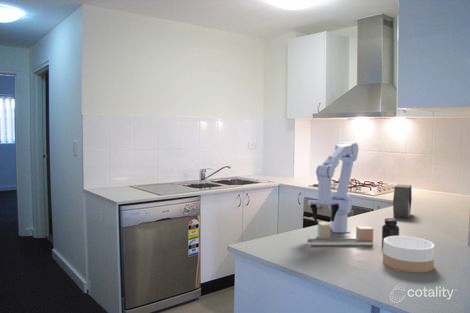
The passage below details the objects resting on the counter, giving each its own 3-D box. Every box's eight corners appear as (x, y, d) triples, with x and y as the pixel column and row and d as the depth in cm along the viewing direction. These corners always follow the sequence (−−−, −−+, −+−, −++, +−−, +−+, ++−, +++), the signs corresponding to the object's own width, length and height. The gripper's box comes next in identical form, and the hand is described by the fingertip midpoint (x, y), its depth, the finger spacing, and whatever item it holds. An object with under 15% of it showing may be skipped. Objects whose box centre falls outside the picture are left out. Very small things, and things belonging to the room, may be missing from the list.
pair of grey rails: (307, 240, 169) (308, 236, 168) (365, 240, 169) (366, 236, 169) (311, 246, 161) (311, 241, 160) (372, 246, 161) (372, 241, 161)
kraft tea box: (326, 236, 175) (326, 221, 175) (329, 240, 169) (330, 225, 169) (317, 236, 175) (317, 221, 175) (320, 240, 169) (320, 225, 169)
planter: (407, 212, 206) (410, 178, 214) (391, 210, 210) (395, 177, 218) (409, 223, 219) (412, 191, 227) (395, 222, 223) (398, 190, 231)
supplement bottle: (384, 243, 165) (385, 216, 164) (401, 246, 160) (402, 218, 159) (379, 247, 159) (380, 219, 158) (396, 250, 155) (397, 221, 154)
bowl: (390, 253, 152) (391, 233, 151) (438, 263, 141) (439, 241, 140) (376, 265, 139) (376, 242, 138) (427, 276, 128) (428, 252, 127)
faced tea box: (356, 242, 167) (356, 226, 167) (369, 242, 167) (370, 226, 167) (359, 244, 163) (359, 228, 162) (373, 244, 163) (373, 228, 163)
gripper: (310, 192, 167) (309, 222, 168) (343, 192, 167) (342, 223, 168) (307, 190, 174) (306, 219, 175) (338, 190, 174) (337, 219, 175)
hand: (324, 220), depth 172 cm, fingers open, 7 cm apart
